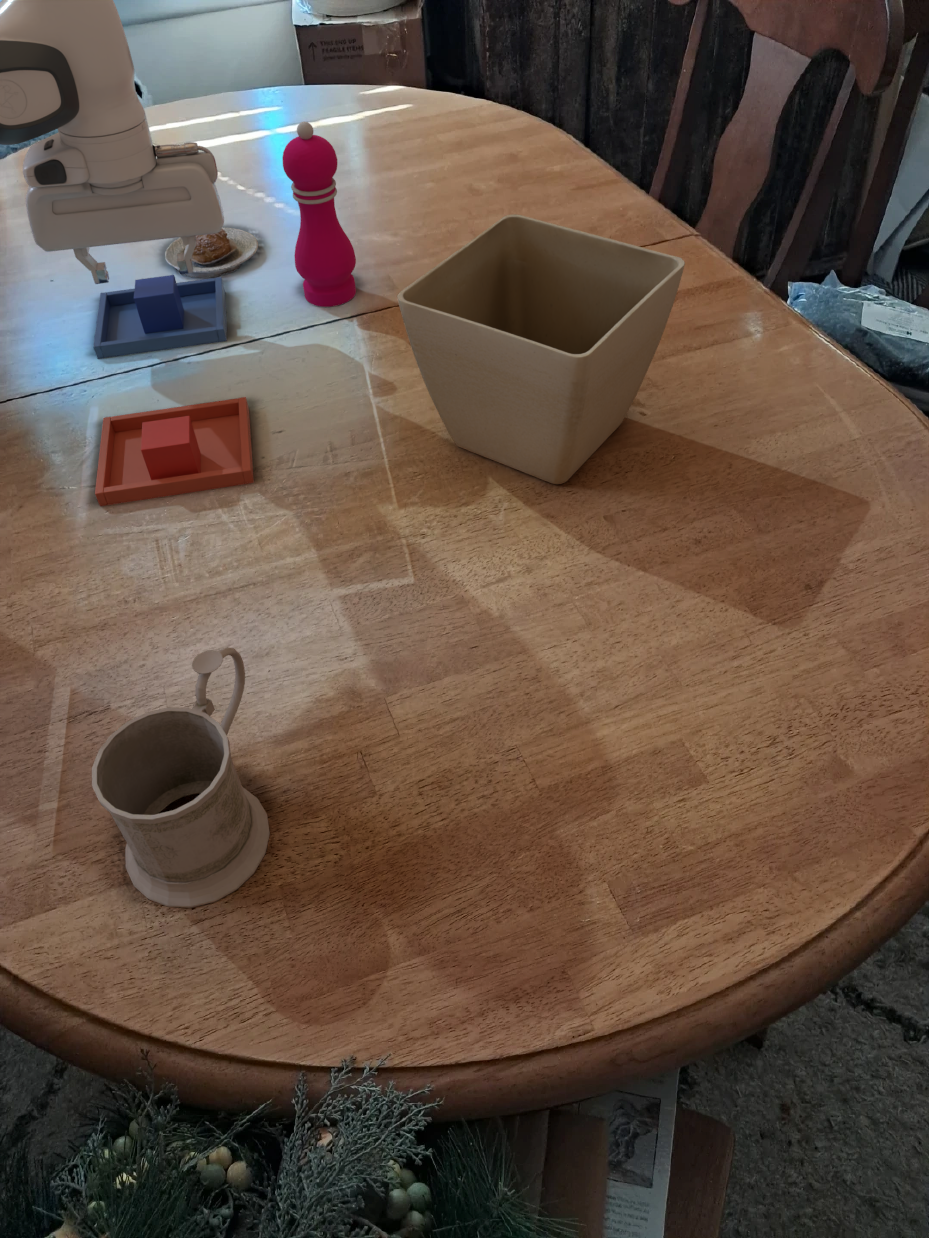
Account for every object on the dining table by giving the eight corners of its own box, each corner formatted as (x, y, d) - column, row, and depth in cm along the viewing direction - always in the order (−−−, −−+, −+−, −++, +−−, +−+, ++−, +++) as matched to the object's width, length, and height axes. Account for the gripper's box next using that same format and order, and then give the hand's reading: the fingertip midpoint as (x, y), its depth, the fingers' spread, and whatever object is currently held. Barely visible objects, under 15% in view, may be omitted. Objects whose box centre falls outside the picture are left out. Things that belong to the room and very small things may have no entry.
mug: (222, 927, 64) (174, 828, 55) (97, 879, 67) (33, 778, 58) (323, 755, 73) (296, 647, 65) (210, 719, 76) (169, 611, 67)
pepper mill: (292, 290, 122) (260, 119, 107) (346, 274, 124) (322, 104, 109) (313, 315, 117) (283, 140, 103) (369, 299, 119) (347, 125, 105)
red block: (153, 487, 95) (140, 450, 92) (155, 460, 98) (142, 422, 95) (200, 480, 96) (189, 442, 92) (200, 453, 99) (189, 415, 96)
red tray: (101, 510, 94) (94, 493, 93) (109, 433, 103) (102, 417, 101) (254, 486, 96) (250, 470, 94) (249, 412, 104) (245, 396, 103)
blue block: (144, 334, 115) (133, 298, 112) (145, 314, 118) (135, 279, 115) (183, 328, 116) (173, 293, 112) (183, 309, 119) (174, 274, 115)
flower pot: (670, 414, 100) (690, 256, 88) (576, 520, 90) (584, 357, 78) (511, 363, 108) (509, 211, 96) (408, 454, 98) (391, 297, 86)
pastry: (150, 258, 129) (140, 224, 126) (228, 227, 135) (220, 193, 131) (197, 289, 123) (188, 254, 120) (277, 256, 128) (270, 221, 125)
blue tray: (98, 362, 112) (92, 347, 111) (105, 308, 121) (100, 292, 120) (227, 344, 114) (223, 329, 112) (225, 291, 122) (221, 276, 121)
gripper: (210, 129, 106) (236, 253, 116) (13, 149, 104) (56, 273, 114) (211, 152, 102) (237, 278, 112) (6, 173, 99) (51, 300, 109)
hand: (144, 276), depth 113 cm, fingers open, 8 cm apart
